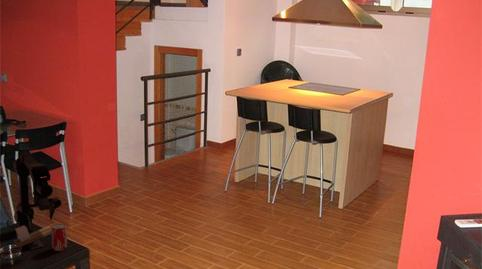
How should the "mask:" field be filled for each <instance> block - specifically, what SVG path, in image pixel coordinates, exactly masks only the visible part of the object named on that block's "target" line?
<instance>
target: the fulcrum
mask: <svg viewBox="0 0 482 269" xmlns="http://www.w3.org/2000/svg"><path fill="white" fill-rule="evenodd" d="M26 245H27V246H28V247H29V249H30V250H35V249H40V248H43V247H44V246H45V245H44V244H43V242H42V241H41V240H40V239H37V240H35V241H33V242H30V243H28V244H26Z"/></svg>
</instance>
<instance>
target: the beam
mask: <svg viewBox="0 0 482 269" xmlns="http://www.w3.org/2000/svg"><path fill="white" fill-rule="evenodd" d="M52 228H53V227H51V226H50V225H48V226H46V227H43V228H41V229H38V230H35V231H32V232H31V233H29V236H30V239H29V240H26V241H24V242H22V243H21V242H20V241H19V240H18V238H17V239H15V240H13V243H14V244H15V245H16V247H17V248H21V247H23V246H25V245H27V244H28V243H30V242H33V241H35V240H40V239H42V238H44V237H46V236H48V235H52Z"/></svg>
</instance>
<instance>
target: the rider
mask: <svg viewBox="0 0 482 269" xmlns="http://www.w3.org/2000/svg"><path fill="white" fill-rule="evenodd" d="M14 230H15V233H16V237H17V239H18V240H19V241H20V242H21V243H22V242H24V241H26V240H29V239H30V236H29V234H30V233H29V232H28V229H27V228H26V227H25V226H21V227H19V228H18V227H17V228H15V229H14Z"/></svg>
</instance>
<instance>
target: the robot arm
mask: <svg viewBox="0 0 482 269" xmlns="http://www.w3.org/2000/svg"><path fill="white" fill-rule="evenodd" d="M12 165H13V166H12V167H13V170H14V172H15V173H16V175H17V177H18V178H17V181H18V198H19V199H18V200H19V202H18V204H17V205H16V207H15V208H16V209H15V210H16V211H15V212H14V215H13V218H14V222H15V223H18V224H17V226H18V227H17V228H19V227H21V226H25V227H26V228H27V229H28V233H29V232H33V229H32V228H31V225H32V224H33V220H34V218H35V217H34V216H35V210H34V209H36V208H38V209H39V211H41V212H44V211H49V212H48V214H49V220H50V221H52V219H53V217H54V213H55V211H56V210H57V209H58V208H60V207H61V206H62V205H63V204H62V203H63V202H62V200H61V199H60V198H58V197H51V198H50V196H51V195H53V193H54V192H53V191H54V188H53V187H52V186H51V185H50V184H49V182H48V181H51V172H50V170H49V168H48V167H47V166H46V165H45V164H44V163H38V161H37V160H36V159H35V158H34V157H33V155H32V153H27V154H21V155H20V156H19V157H18V158H16V159H15V160H14V161H13V164H12ZM29 176H30V178H31V182H32V196H33V201H32V203H30V194H29V192H30V191H29Z"/></svg>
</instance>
